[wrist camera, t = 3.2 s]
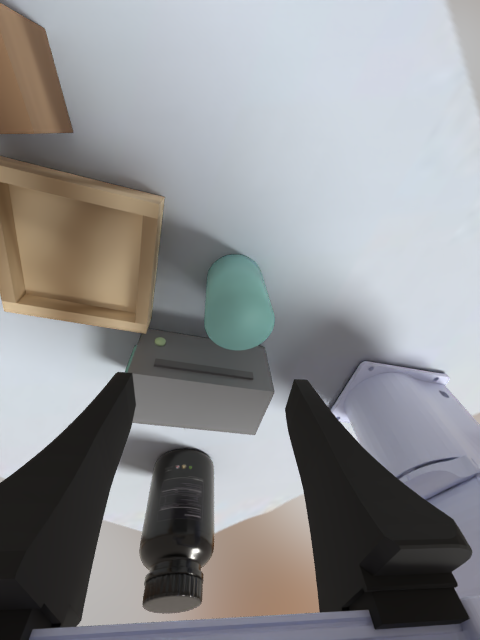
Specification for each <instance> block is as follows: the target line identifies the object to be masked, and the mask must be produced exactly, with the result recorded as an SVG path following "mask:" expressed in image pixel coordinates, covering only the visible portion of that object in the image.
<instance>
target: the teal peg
mask: <svg viewBox="0 0 480 640" xmlns="http://www.w3.org/2000/svg"><path fill="white" fill-rule="evenodd" d="M274 322H275V317H274V313H273V309H272V306H271V303H270V300H269V296H268V293H267V290H266V287H265V283H264V280H263V277H262V274H261V271H260V268H259V267H258V265H257V264H256V263H255V262H254V261H253V260H252V259H250V258H249V257H246V256H244V255H239V254H231V255H226V256H224V257H222V258H220V259H218V260H217V261H216V262H215V263H214V264H213V265H212V266H211V268H210V269H209V272H208V275H207V286H206V302H205V317H204V326H205V330H206V333H207V335H208V336H209V338H210V339H211V340H212V341H213V342H214V343H215V344H217V345H219V346H220V347H223V348H225V349H229V350H247V349H251V348H253V347H256V346H258V345H259V344H261V343H262V342H264V341H265V340H266V339H267V338H268V337H269V335H270V334H271V332H272V330H273V327H274Z"/></svg>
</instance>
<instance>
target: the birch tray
mask: <svg viewBox="0 0 480 640" xmlns="http://www.w3.org/2000/svg"><path fill="white" fill-rule="evenodd" d="M164 198H165V197H162V196H158V195H154V194H150V193H146V192H142V191H138V190H134V189H130V188H126V187H122V186H118V185H114V184H110V183H106V182H102V181H98V180H94V179H90V178H86V177H82V176H78V175H74V174H70V173H66V172H62V171H58V170H54V169H50V168H46V167H42V166H38V165H34V164H30V163H26V162H22V161H18V160H15V159H11V158H7V157H3V156H0V294H1V299H2V304H3V308H4V311H5V312H11V313H18V314H24V315H30V316H37V317H43V318H49V319H56V320H62V321H68V322H74V323H81V324H87V325H93V326H100V327H106V328H112V329H118V330H125V331H131V332H137V333H144V334H146V333H147V330H148V327H149V324H150V321H151V318H152V308H153V299H154V290H155V281H156V272H157V262H158V253H159V244H160V235H161V226H162V216H163V207H164Z"/></svg>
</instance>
